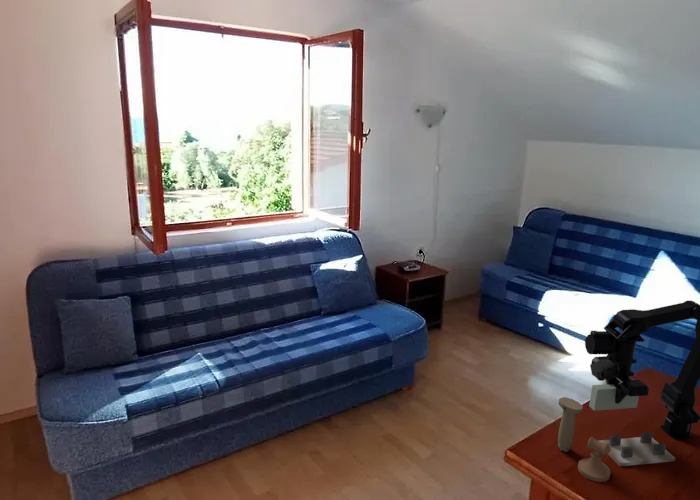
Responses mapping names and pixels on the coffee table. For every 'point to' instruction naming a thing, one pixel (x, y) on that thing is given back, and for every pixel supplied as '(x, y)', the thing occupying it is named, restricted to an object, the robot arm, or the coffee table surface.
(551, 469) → the coffee table surface
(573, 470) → the coffee table surface
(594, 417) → the coffee table surface
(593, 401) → the cabinet door
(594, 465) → the door knob
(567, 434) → the handle
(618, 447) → the cabinet panel
